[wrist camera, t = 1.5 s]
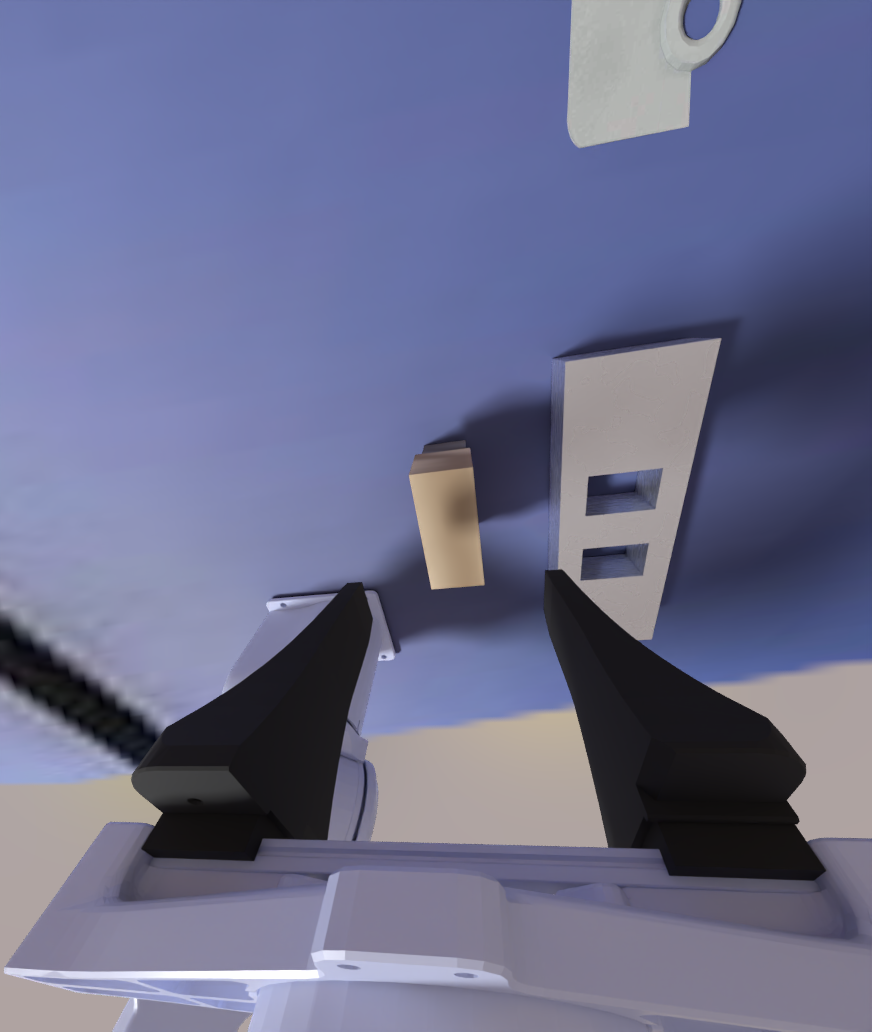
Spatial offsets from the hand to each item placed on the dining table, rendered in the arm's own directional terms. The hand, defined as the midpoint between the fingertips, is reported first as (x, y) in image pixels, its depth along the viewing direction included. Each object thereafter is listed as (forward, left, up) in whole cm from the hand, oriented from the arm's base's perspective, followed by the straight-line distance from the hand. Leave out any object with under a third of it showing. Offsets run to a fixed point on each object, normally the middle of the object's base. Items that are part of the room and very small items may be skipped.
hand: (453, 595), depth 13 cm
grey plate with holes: (+10, -3, -11) cm, 15 cm away
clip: (0, 0, -11) cm, 11 cm away
